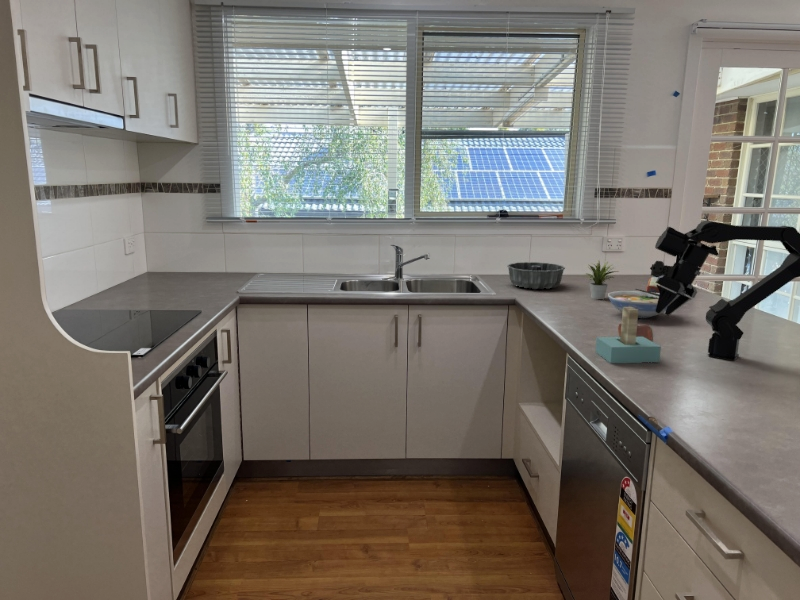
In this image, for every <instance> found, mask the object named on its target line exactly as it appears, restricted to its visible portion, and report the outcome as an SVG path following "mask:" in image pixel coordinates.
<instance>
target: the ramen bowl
mask: <svg viewBox="0 0 800 600" xmlns="http://www.w3.org/2000/svg"><path fill="white" fill-rule="evenodd" d="M659 294H660V293H653V292H648V291H646V290H642V289H639V288H635V290H619V291H618V290H616V291H612V292H608V294H607V295H608V298H609V301H610V302H611V304H612V305H613V307H614V308H615V309H616V310H618V311H619V312H621V313H622V312H623V307H633V308H635V309H637V310H638V319H649V318H651V317H654V316H657V315H658V316H659V315H661V314H663V313H665V312H666V309H667V307H666V308H665V309H664V310H663V311H662V312H660V313H657V312H656V307H657V303H658V299H659Z"/></svg>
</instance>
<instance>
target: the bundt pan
mask: <svg viewBox="0 0 800 600" xmlns="http://www.w3.org/2000/svg"><path fill="white" fill-rule="evenodd" d="M507 268H508V275H509V280H510V283H511V284H512V285H513V286H514V285H517V286H519V287H518V288H520V287H524V289H525V288H529V289H531V288H532V289H531V290H537V289H538V290H540V289H542V290H551V289H550V288H552V289H555V288H557V287H558V286H559V285H560V284H561V282H562V279H563V274H564V271H565V269H566V267H565V266H563V265H560V264H557V263H550V262H537V261H534V262H533V261H529V262H528V261H524V262H521V261H520V262H514V263H509V264H507ZM517 286H516V287H517ZM544 288H546V289H544Z"/></svg>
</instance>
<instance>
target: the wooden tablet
mask: <svg viewBox="0 0 800 600" xmlns="http://www.w3.org/2000/svg"><path fill="white" fill-rule="evenodd" d="M621 324H622V322H621V323H619V324H618V327H617V328H618V329H617V330H618V335H619V336H618V337H620V336H621ZM651 329H652V328H651V326H650V325H648V324H640V325H637V331H636V337H645V338H646V339H648V340H650V341H652V342H654V341H653V337H652V336H653V335H652V330H651Z"/></svg>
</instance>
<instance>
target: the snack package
mask: <svg viewBox="0 0 800 600" xmlns="http://www.w3.org/2000/svg"><path fill="white" fill-rule="evenodd" d="M657 279H658V277H654V276H652V277H649V279H648V281H647V285H646V290H645V291H648V292H653V293H660V292H659V290H658V287H657V285H659V286H662V285H660V284H657V283H656V281H657Z"/></svg>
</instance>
